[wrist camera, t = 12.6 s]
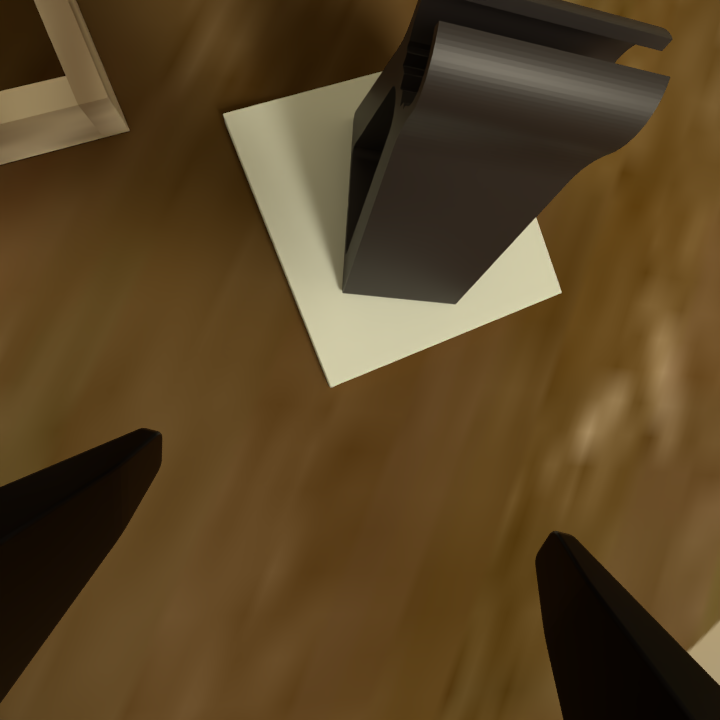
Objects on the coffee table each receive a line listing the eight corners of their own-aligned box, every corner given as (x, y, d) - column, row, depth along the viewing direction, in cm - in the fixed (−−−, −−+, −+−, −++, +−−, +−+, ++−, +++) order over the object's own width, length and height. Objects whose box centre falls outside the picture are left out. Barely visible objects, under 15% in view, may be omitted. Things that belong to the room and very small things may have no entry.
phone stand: (353, 116, 20) (454, -211, 9) (464, 137, 22) (684, -124, 10) (340, 294, 20) (424, 207, 9) (452, 306, 22) (659, 244, 10)
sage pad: (328, 386, 21) (330, 387, 20) (225, 123, 20) (223, 113, 19) (552, 294, 24) (561, 292, 23) (470, 56, 23) (477, 45, 22)
